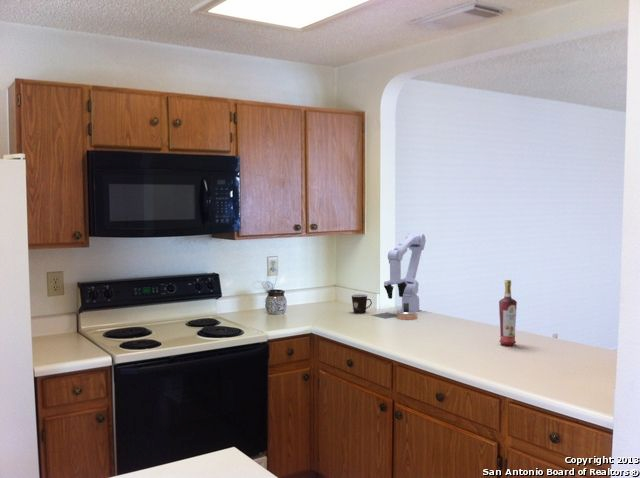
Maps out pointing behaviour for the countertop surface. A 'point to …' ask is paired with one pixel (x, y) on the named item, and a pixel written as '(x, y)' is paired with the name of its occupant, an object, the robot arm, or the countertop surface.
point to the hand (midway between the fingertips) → (395, 297)
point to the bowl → (407, 317)
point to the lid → (406, 310)
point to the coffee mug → (360, 303)
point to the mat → (385, 315)
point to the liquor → (507, 317)
